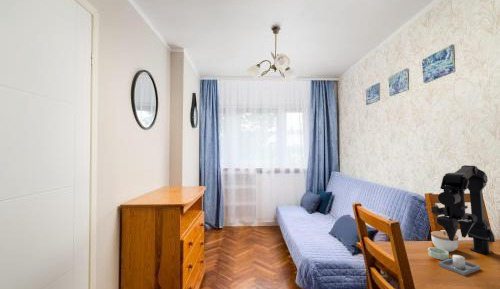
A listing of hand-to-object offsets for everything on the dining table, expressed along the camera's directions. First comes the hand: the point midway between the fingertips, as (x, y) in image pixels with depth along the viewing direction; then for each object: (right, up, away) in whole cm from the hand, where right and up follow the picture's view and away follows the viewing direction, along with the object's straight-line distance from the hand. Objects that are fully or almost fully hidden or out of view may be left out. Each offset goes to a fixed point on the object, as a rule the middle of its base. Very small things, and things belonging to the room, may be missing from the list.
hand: (457, 239), depth 99 cm
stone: (0, -12, -1) cm, 12 cm away
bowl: (0, -13, +10) cm, 16 cm away
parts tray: (0, -13, -1) cm, 13 cm away
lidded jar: (+10, -13, +18) cm, 24 cm away
